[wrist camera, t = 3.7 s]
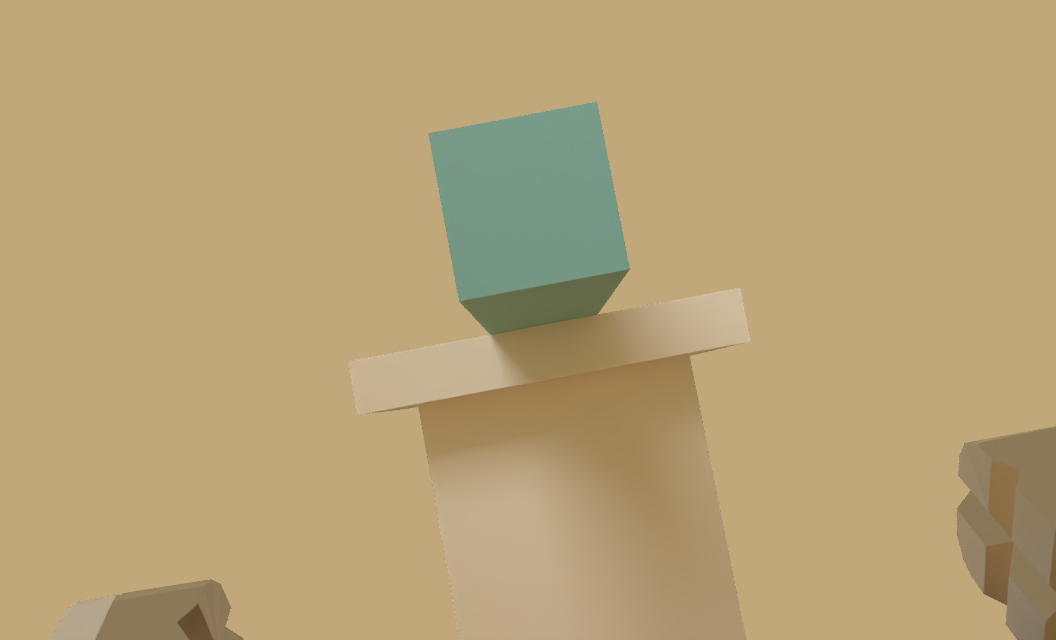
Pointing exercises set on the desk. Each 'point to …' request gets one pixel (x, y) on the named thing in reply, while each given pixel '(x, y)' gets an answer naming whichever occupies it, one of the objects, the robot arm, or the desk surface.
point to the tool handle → (531, 217)
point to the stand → (575, 473)
